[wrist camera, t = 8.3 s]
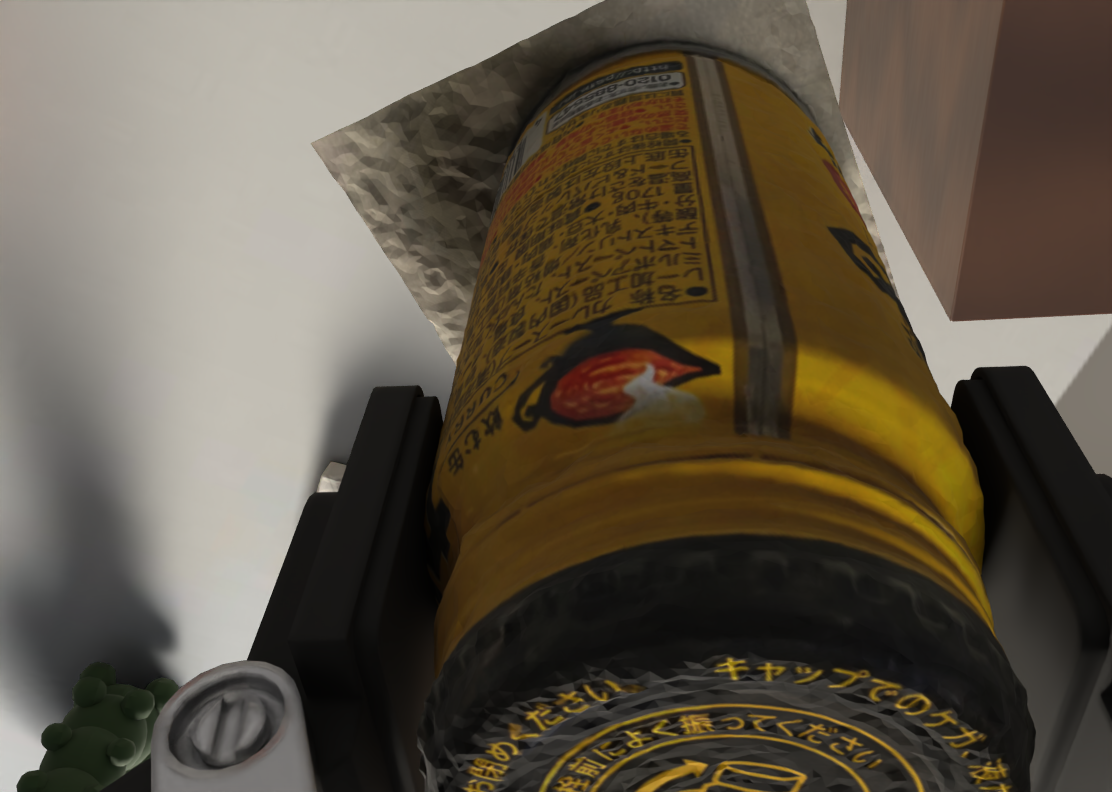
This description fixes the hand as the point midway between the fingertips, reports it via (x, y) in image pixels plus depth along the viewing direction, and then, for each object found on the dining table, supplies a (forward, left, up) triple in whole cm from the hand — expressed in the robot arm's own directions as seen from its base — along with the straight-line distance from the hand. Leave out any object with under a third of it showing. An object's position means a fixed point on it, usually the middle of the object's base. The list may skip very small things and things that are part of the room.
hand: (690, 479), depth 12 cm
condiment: (0, -1, -7) cm, 8 cm away
